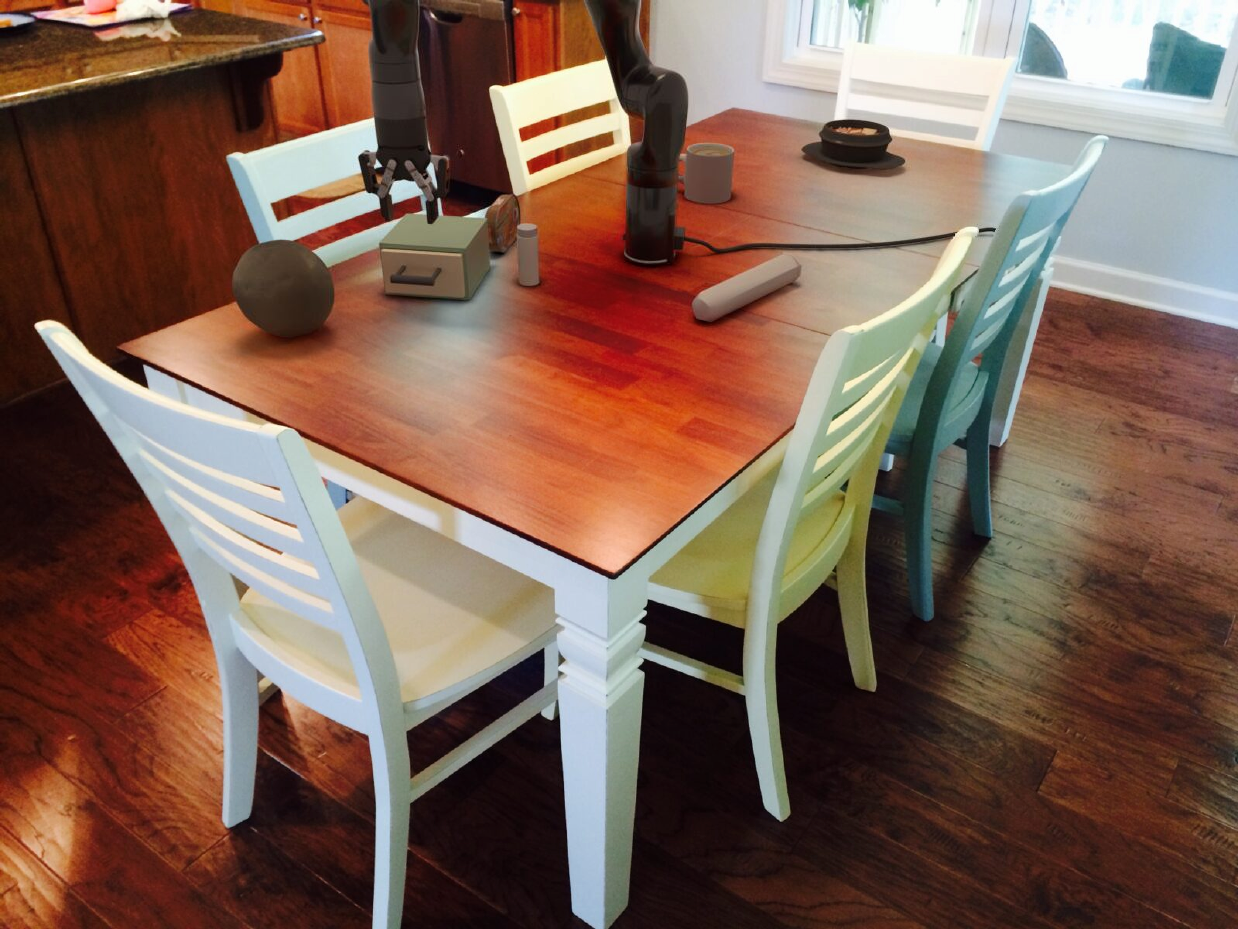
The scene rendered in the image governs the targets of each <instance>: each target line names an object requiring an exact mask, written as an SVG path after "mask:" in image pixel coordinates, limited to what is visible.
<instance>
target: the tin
mask: <svg viewBox="0 0 1238 929" xmlns="http://www.w3.org/2000/svg"><path fill="white" fill-rule="evenodd" d="M521 215H522V214H521V205H520V200H519V199H518V196H517V195H516V194H514V193H511V194H501V195H499V196H498V197H497V198H496V199H495V200H494V201H493V203H492V204H491V205H490V206H489V207H488V208H487V209H486V212H485V215H484V218H487V220H488V237H489V252H493V253H503V254H505V253H506V252H507V251H508V250H509V248H510V247H511V246H512V244H513V243H514V242H515V240H517V226H518V225H520V224H521V221H522V220H521V218H522V217H521Z"/></svg>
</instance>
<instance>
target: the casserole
mask: <svg viewBox="0 0 1238 929" xmlns="http://www.w3.org/2000/svg"><path fill="white" fill-rule="evenodd" d="M818 136H819V138H820V141H815V142H811V143H807V144H805V145H804V146H802V147H801V149H800V150H801V152H803V153H804V154H806V155H809V156H812V157H815V158H816V159H817V160H820V161H822V162H825V163H827V164H829V165H831V166H834V167H837V168H841V169H845V170H867V169H870V170H881V171H885V170H892V169H896V168H899V167H902V166H903V165H905V163H906V159H905V158H904V157H902V156H900V155H897V154H894V153H891V152H889V151H887V150H888V148H889V145H890V143H892V141H893V137H892V135H891V132H890V128H889V127H888V126H886V125H884V124H881V123H879V122H875V121H870V120H865V119H864V120H863V119H855V118H854V119H851V118H850V119H849V118H848V119H847V118H846V119H836V120H831V121H830V120H829V121H827V122H826V123H824V125H823V126H822V129H821V130H820V131H819V132H818Z"/></svg>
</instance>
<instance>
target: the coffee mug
mask: <svg viewBox="0 0 1238 929" xmlns="http://www.w3.org/2000/svg"><path fill="white" fill-rule="evenodd" d="M734 159H735V149H734V148H733V147H732V146H730V145H728V144H724V143H718V142H699V143H692V144H689V146H687V147H686V153H681V154H680V158H679V162H682V163H683V165H684V171H683V172H684V173H683V174H680V173H679V174H678V184H681V185H683V187H684V194H683V195H684V197H685V199H686V200H688V201H691V202H693V203H698V204H704V205H705V204H707V205H713V204H723V203H726V202H728V201H730V200H731V198H732V185H733V172H734Z"/></svg>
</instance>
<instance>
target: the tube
mask: <svg viewBox="0 0 1238 929" xmlns="http://www.w3.org/2000/svg"><path fill="white" fill-rule="evenodd" d="M802 266H803V264H802V263H801V261H800V260H799V259H798V258H797V256H796V255H795V254H794V253H791V252H786V251H783V252H782V253H781V254H780V255H777V256H775V257H773V258H771V259H769V260H767V261H765V262H763V263H760V264H758V265H756V266H753V267H752V268H750V269H747V270H744V271H743V272H741V273H739V274H736V275H734V276H732V277H730V278H728V279H726V280H723V281H722V282H720V283H717V284H715V285H713V286H710V287H708V288H707V289H704V290H702V291H700V292H699V293H698V294H697V296H696V297H695V298H694V299H693V301H692V303H691V307H692V312H693V314H694V316H695V318H696V320H700V321H705V322H707V323H713V322H714V321H716V320H718V319H720V318H722V317H724V316H727V315H728V314H731V313H732V312H734V311H737V310H739V309H741V308H742V307H745V306H746V305H748V304H751V303H753V302H754V301H756V300H760V298H763V297H765V296H767V295H770V293H773V292H775V291H777V290H779V289H781V288H783V287H785V286H787V285H789V284H794V283H795V282H796V281H797V280H798V279H799V278H801V274H802Z"/></svg>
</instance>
